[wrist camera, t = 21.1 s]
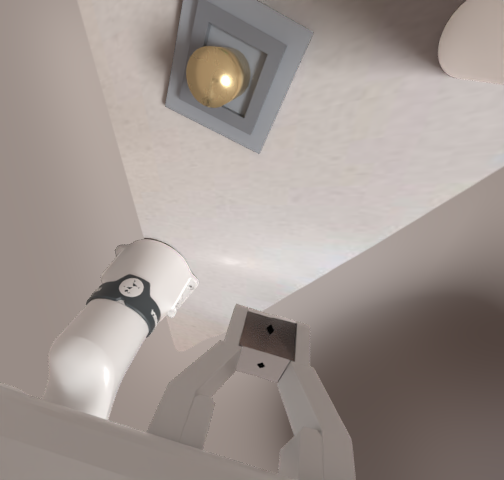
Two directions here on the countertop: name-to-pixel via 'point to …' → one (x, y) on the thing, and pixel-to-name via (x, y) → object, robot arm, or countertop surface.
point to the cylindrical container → (474, 42)
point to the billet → (217, 75)
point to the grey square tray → (257, 54)
